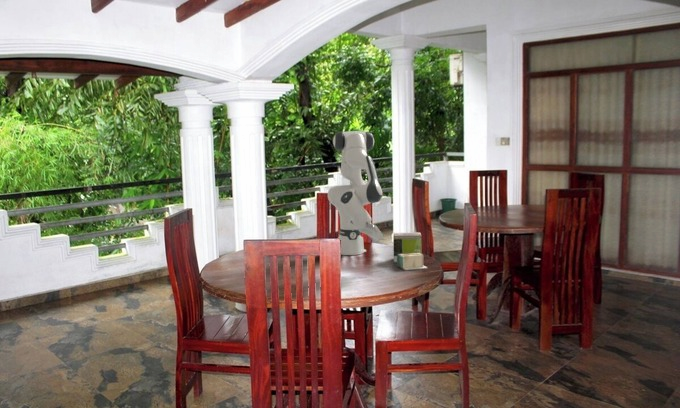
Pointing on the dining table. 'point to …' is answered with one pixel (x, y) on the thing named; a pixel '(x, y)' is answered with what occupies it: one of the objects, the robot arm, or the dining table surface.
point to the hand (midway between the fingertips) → (375, 240)
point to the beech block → (410, 260)
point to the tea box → (407, 243)
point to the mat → (415, 268)
